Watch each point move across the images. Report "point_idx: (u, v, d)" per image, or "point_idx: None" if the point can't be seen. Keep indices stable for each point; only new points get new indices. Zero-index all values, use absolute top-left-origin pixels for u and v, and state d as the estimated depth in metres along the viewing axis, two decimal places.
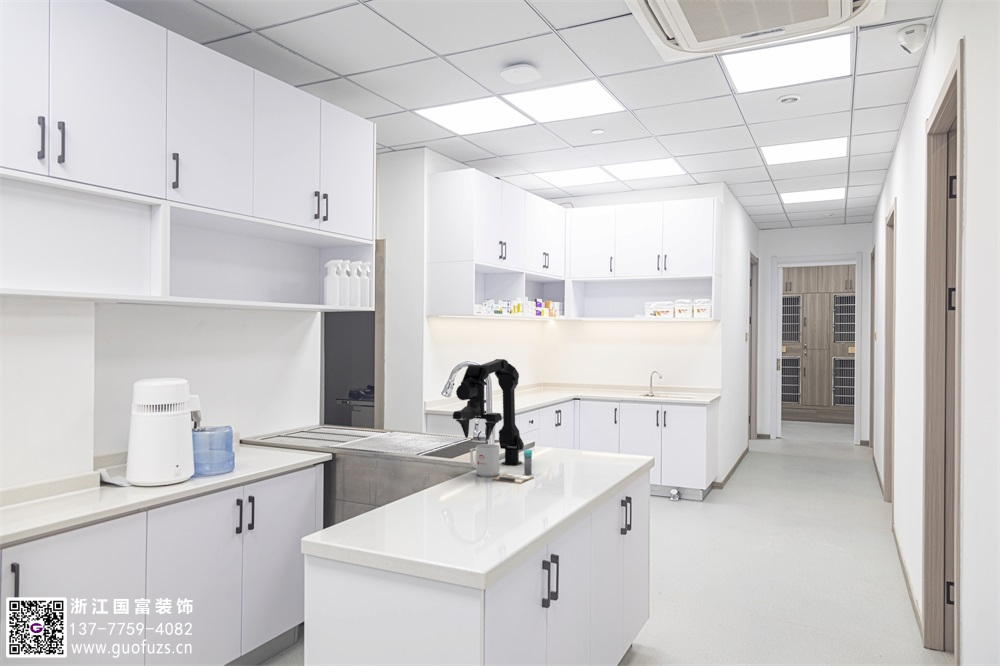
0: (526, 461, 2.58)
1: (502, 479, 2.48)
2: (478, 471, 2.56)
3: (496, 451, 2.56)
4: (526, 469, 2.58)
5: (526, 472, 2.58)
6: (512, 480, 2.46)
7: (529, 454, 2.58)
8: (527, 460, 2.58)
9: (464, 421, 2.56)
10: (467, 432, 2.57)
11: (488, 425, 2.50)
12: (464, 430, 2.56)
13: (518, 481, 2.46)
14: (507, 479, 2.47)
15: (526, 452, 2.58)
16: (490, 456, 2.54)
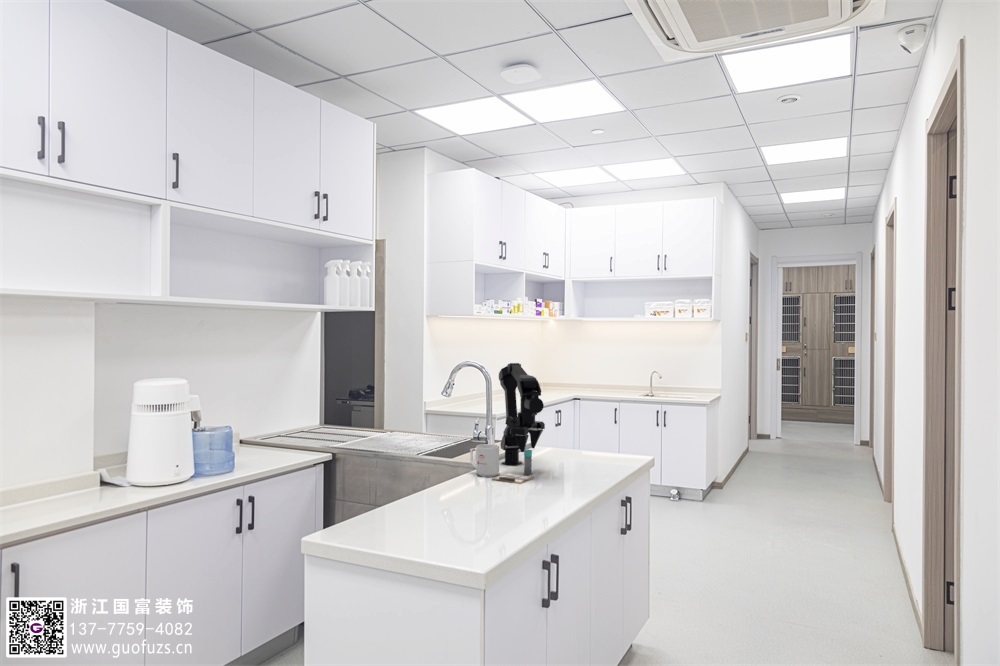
0: (526, 461, 2.58)
1: (502, 479, 2.48)
2: (478, 471, 2.56)
3: (496, 451, 2.56)
4: (526, 469, 2.58)
5: (526, 472, 2.58)
6: (512, 480, 2.46)
7: (529, 454, 2.58)
8: (527, 460, 2.58)
9: (531, 431, 2.64)
10: (533, 443, 2.63)
11: None
12: None
13: (518, 481, 2.46)
14: (507, 479, 2.47)
15: (526, 452, 2.58)
16: (490, 456, 2.54)
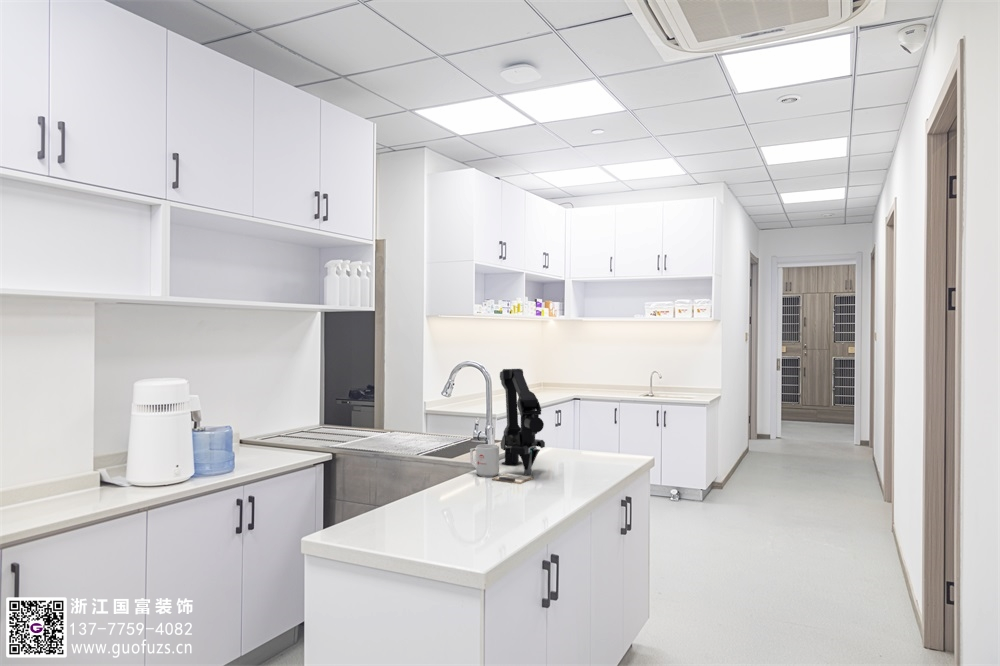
0: None
1: (502, 479, 2.48)
2: (478, 471, 2.56)
3: (496, 451, 2.56)
4: None
5: (526, 472, 2.58)
6: (512, 480, 2.46)
7: None
8: None
9: None
10: None
11: None
12: None
13: (518, 481, 2.46)
14: (507, 479, 2.47)
15: None
16: (490, 456, 2.54)
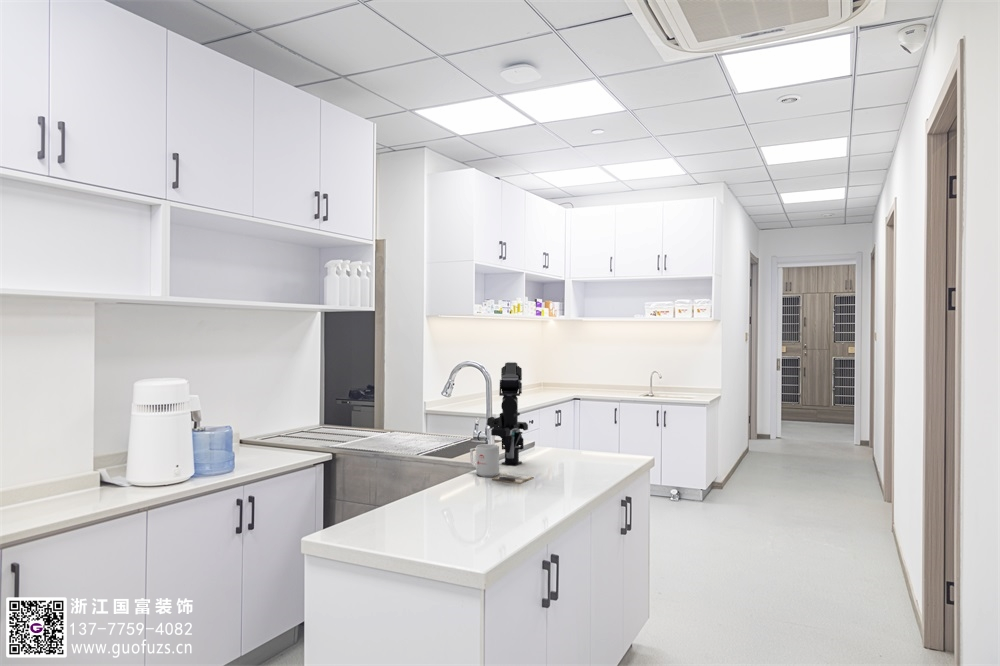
0: None
1: (502, 479, 2.48)
2: (478, 471, 2.56)
3: (496, 451, 2.56)
4: None
5: (508, 455, 2.49)
6: (512, 480, 2.46)
7: None
8: None
9: None
10: None
11: None
12: None
13: (518, 481, 2.46)
14: (507, 479, 2.47)
15: None
16: (490, 456, 2.54)
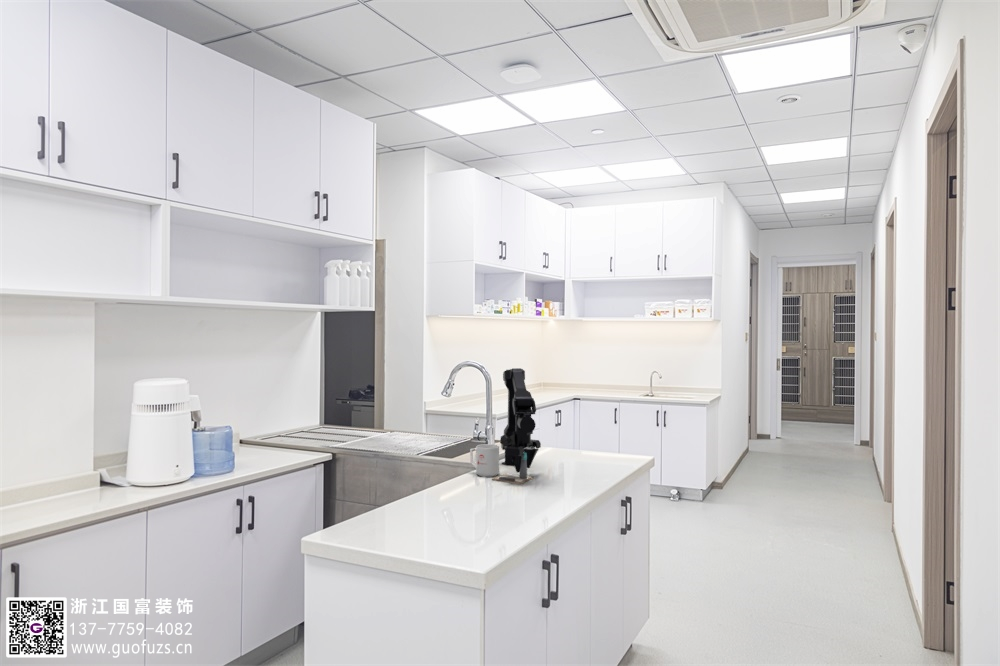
0: None
1: (502, 479, 2.48)
2: (478, 471, 2.56)
3: (496, 451, 2.56)
4: (521, 472, 2.50)
5: (521, 475, 2.50)
6: (512, 480, 2.46)
7: (524, 457, 2.50)
8: (522, 463, 2.50)
9: (526, 450, 2.56)
10: (528, 462, 2.55)
11: None
12: None
13: (518, 481, 2.46)
14: (507, 479, 2.47)
15: None
16: (490, 456, 2.54)
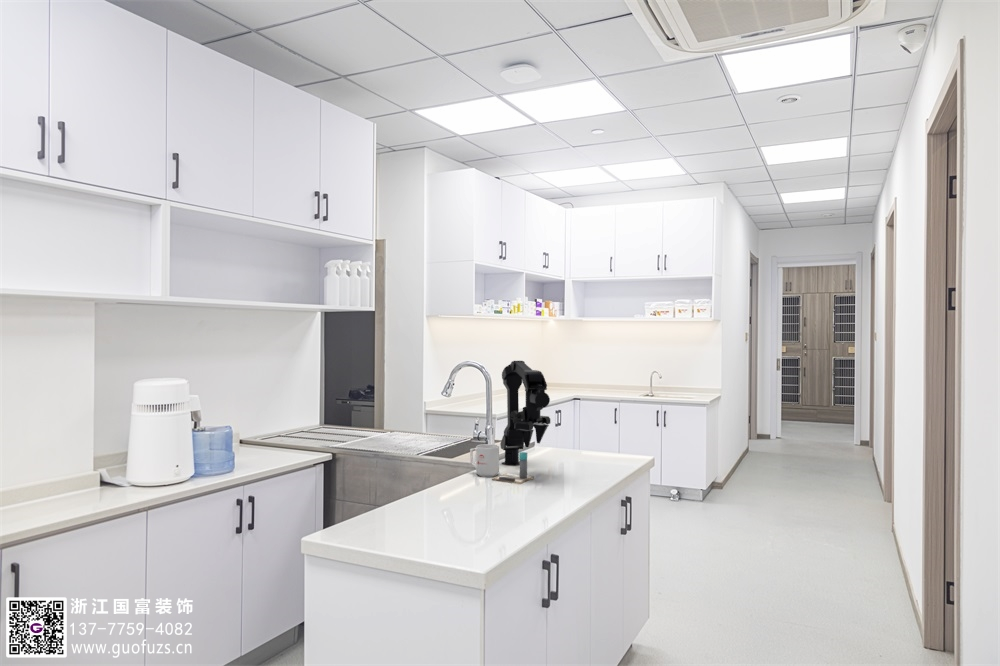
0: (521, 464, 2.50)
1: (502, 479, 2.48)
2: (478, 471, 2.56)
3: (496, 451, 2.56)
4: (521, 472, 2.50)
5: (521, 475, 2.50)
6: (512, 480, 2.46)
7: (524, 457, 2.50)
8: (523, 463, 2.50)
9: (537, 426, 2.60)
10: (539, 438, 2.58)
11: None
12: None
13: (518, 481, 2.46)
14: (507, 479, 2.47)
15: (521, 455, 2.50)
16: (490, 456, 2.54)
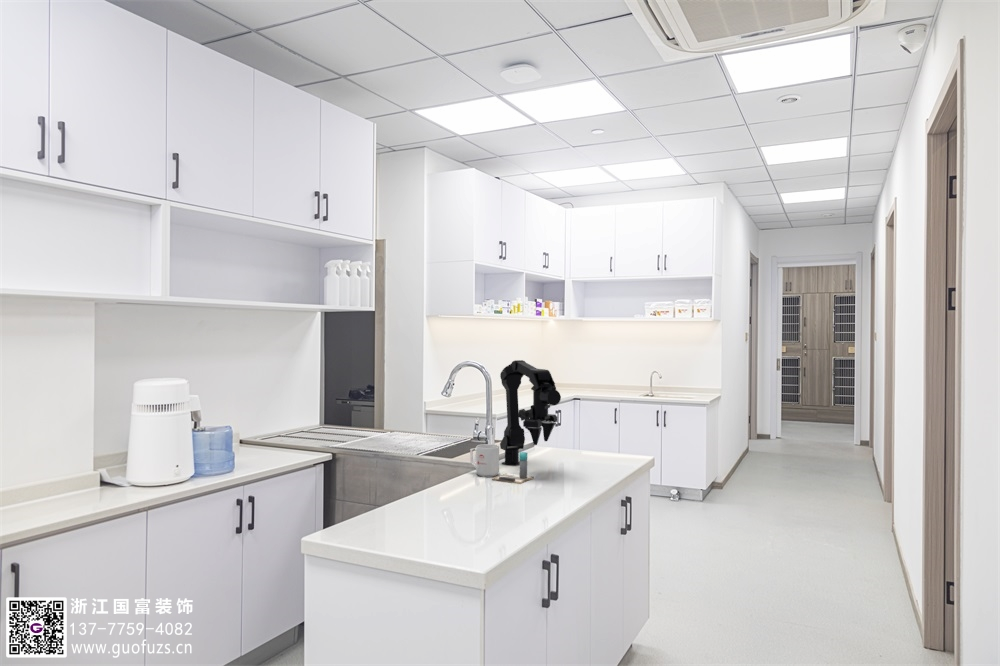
0: (521, 464, 2.50)
1: (502, 479, 2.48)
2: (478, 471, 2.56)
3: (496, 451, 2.56)
4: (521, 472, 2.50)
5: (521, 475, 2.50)
6: (512, 480, 2.46)
7: (524, 457, 2.50)
8: (523, 463, 2.50)
9: (544, 424, 2.62)
10: (546, 436, 2.61)
11: None
12: None
13: (518, 481, 2.46)
14: (507, 479, 2.47)
15: (521, 455, 2.50)
16: (490, 456, 2.54)
